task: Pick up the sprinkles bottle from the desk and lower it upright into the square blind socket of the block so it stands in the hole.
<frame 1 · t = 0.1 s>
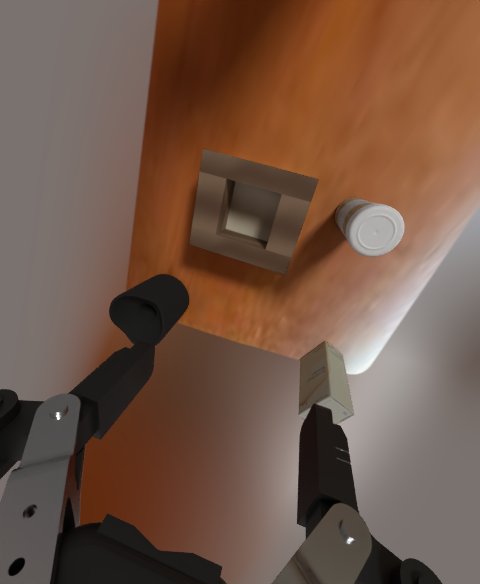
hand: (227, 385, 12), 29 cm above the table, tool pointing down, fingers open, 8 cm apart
pen holder: (169, 294, 47), on the table
sprinkles bottle: (351, 214, 34), on the table
socket block: (255, 210, 36), on the table
skincare box: (321, 357, 44), on the table
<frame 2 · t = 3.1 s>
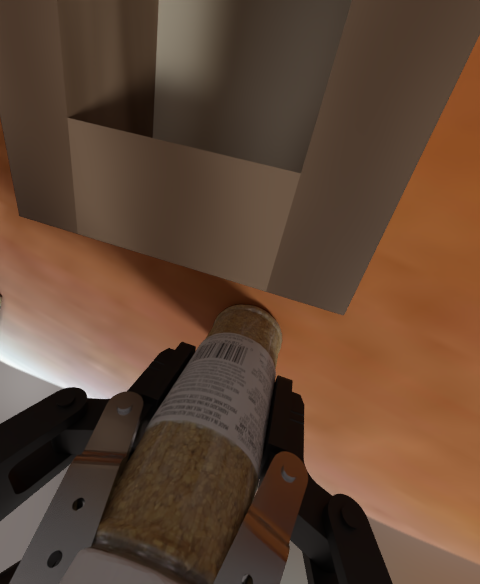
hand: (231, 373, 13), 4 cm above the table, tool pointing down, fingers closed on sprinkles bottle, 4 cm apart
sprinkles bottle: (249, 331, 16), on the table, touching gripper
socket block: (250, 68, 11), on the table
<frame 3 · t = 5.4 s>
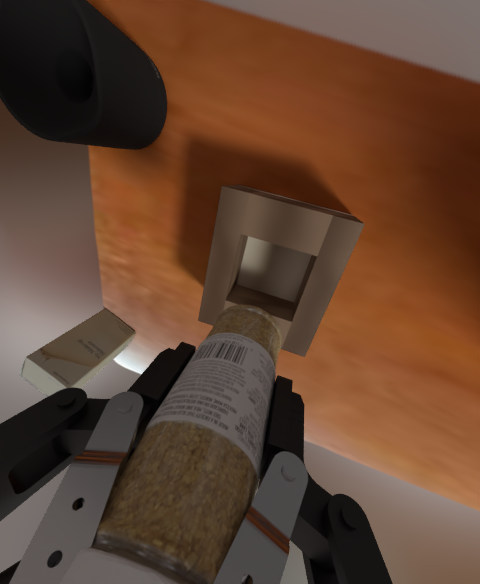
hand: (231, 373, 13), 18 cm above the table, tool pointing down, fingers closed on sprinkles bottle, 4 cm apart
pen holder: (132, 102, 26), on the table
sprinkles bottle: (249, 331, 16), point 14 cm above the table, touching gripper
socket block: (274, 261, 29), on the table
skincare box: (116, 327, 39), on the table
when the fingers open (7 cm above the table, at t = 7.4 s): sprinkles bottle drops 1 cm, resting on socket block.
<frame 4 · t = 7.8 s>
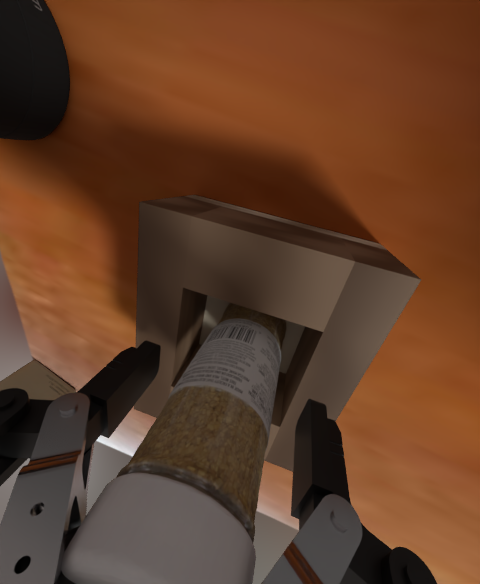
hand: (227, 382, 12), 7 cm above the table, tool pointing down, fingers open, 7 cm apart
pen holder: (18, 63, 16), on the table
sprinkles bottle: (255, 321, 17), point 1 cm above the table, touching socket block
socket block: (256, 311, 19), on the table
skincare box: (53, 382, 30), on the table
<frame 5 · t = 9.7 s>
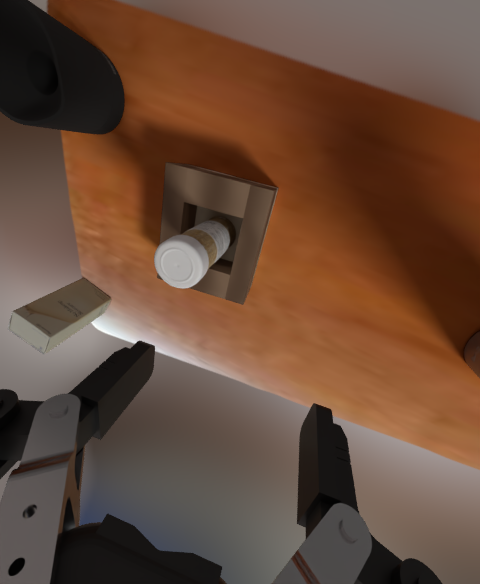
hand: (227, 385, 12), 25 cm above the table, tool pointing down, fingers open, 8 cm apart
pen holder: (96, 94, 31), on the table
sprinkles bottle: (221, 232, 33), point 1 cm above the table, touching socket block
socket block: (222, 229, 34), on the table
skincare box: (94, 295, 45), on the table
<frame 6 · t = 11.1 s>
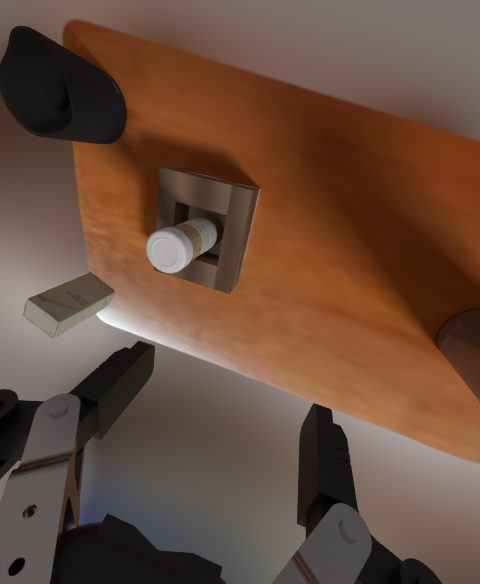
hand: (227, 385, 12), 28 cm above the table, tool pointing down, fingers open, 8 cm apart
pen holder: (102, 109, 35), on the table
sprinkles bottle: (210, 229, 37), point 1 cm above the table, touching socket block
socket block: (212, 227, 38), on the table
skincare box: (99, 288, 49), on the table
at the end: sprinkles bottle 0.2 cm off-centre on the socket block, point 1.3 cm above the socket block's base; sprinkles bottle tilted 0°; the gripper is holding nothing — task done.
